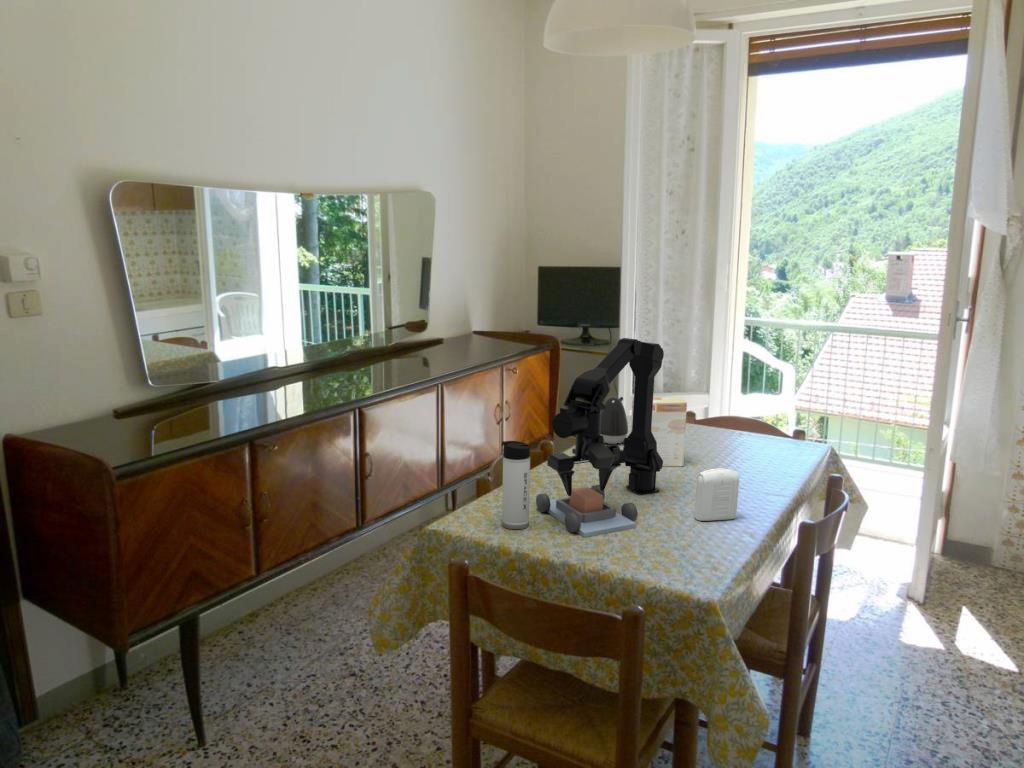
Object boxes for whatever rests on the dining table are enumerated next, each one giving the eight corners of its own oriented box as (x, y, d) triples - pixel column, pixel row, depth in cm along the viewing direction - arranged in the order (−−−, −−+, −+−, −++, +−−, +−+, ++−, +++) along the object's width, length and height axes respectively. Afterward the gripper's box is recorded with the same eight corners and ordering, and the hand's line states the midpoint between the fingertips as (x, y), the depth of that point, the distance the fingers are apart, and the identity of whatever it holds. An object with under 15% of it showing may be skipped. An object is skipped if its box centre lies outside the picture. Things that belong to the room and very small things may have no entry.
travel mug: (499, 520, 179) (500, 438, 176) (527, 519, 180) (529, 438, 176) (501, 530, 173) (502, 446, 169) (530, 529, 174) (531, 445, 170)
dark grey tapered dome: (633, 442, 248) (635, 396, 245) (616, 448, 241) (618, 401, 238) (607, 436, 255) (609, 392, 252) (589, 442, 247) (591, 396, 244)
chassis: (591, 496, 196) (591, 480, 195) (641, 526, 177) (642, 508, 176) (532, 506, 189) (532, 489, 188) (578, 538, 169) (579, 519, 169)
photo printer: (730, 513, 186) (733, 465, 184) (739, 519, 182) (742, 470, 179) (691, 516, 184) (694, 467, 181) (699, 523, 180) (702, 473, 177)
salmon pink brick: (586, 506, 187) (587, 486, 186) (602, 515, 181) (603, 495, 180) (569, 509, 185) (569, 489, 184) (584, 518, 178) (585, 498, 177)
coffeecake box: (678, 460, 230) (681, 397, 226) (684, 467, 223) (687, 402, 219) (628, 459, 229) (631, 396, 225) (633, 466, 222) (636, 401, 218)
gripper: (571, 442, 167) (569, 509, 170) (640, 434, 176) (637, 498, 179) (546, 430, 177) (545, 494, 180) (613, 423, 185) (611, 484, 188)
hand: (585, 493), depth 182 cm, fingers open, 9 cm apart
